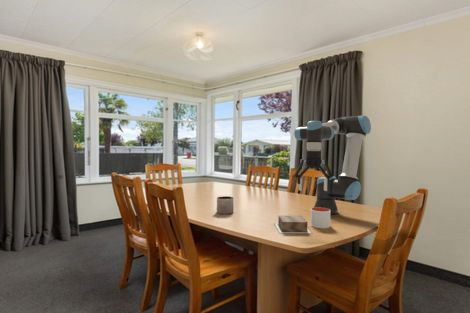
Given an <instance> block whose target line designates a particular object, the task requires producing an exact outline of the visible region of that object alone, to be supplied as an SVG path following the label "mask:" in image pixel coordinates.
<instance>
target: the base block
mask: <svg viewBox="0 0 470 313" xmlns="http://www.w3.org/2000/svg"><path fill="white" fill-rule="evenodd" d="M277 217H278V218H277V219H278V220H277V224H278V225H279V227H280V229H281V230H282V232H307V228H308V221H307V220H306V219H305V218H304V217H303V215H278V216H277Z"/></svg>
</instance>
